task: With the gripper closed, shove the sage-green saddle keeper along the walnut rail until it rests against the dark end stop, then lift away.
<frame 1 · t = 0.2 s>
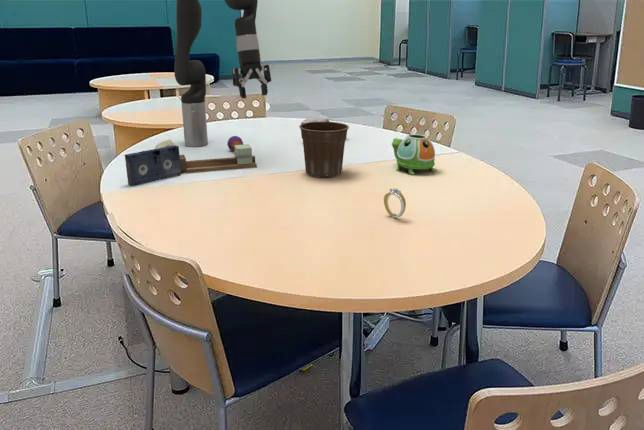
hand: (254, 96, 209), 23 cm above the table, fingers open, 8 cm apart
rail: (218, 168, 207), on the table
plant pot: (324, 173, 201), on the table
keeper: (243, 154, 208), point 4 cm above the table, slide at 0.0 cm
kendama: (238, 156, 226), on the table
cell model: (324, 142, 247), on the table
turtle holder: (411, 170, 205), on the table
fossil replica: (165, 164, 213), on the table
ring: (393, 218, 159), on the table
vhs cassette tape: (155, 180, 194), on the table
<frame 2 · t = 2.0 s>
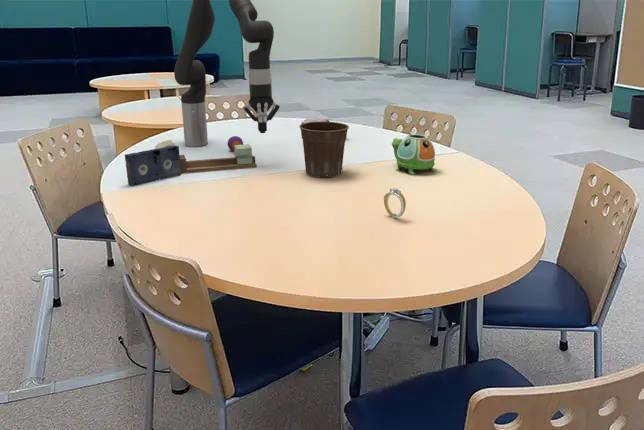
hand: (262, 132, 208), 11 cm above the table, fingers closed
nothing on the table moved.
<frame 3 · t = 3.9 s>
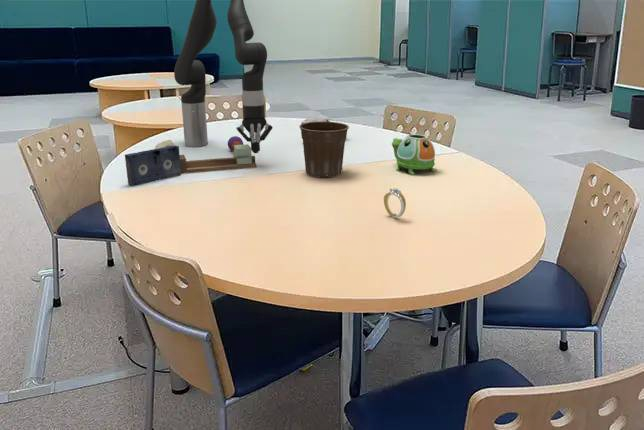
hand: (255, 152, 210), 4 cm above the table, fingers closed
keeper: (242, 154, 208), point 4 cm above the table, slide at 0.2 cm, touching gripper
everything else where it was.
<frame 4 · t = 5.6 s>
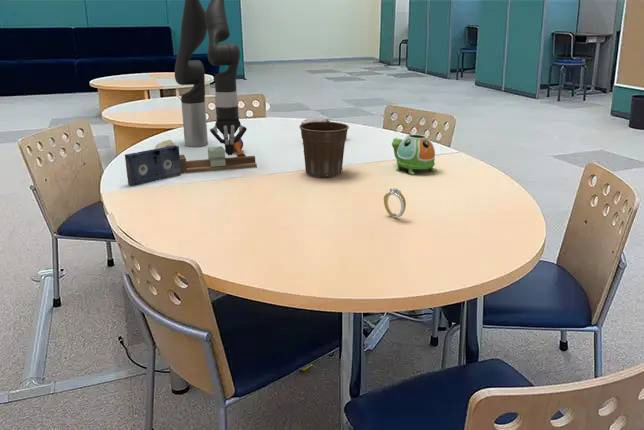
hand: (229, 154, 207), 4 cm above the table, fingers closed
keeper: (216, 156, 206), point 4 cm above the table, slide at 9.3 cm, touching gripper
everything else where it was.
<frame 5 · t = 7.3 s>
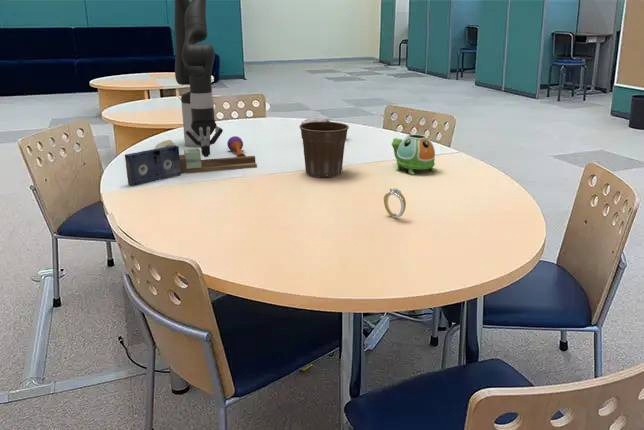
hand: (206, 156, 205), 4 cm above the table, fingers closed
keeper: (192, 158, 203), point 4 cm above the table, slide at 17.5 cm, touching gripper, rail
everything else where it was.
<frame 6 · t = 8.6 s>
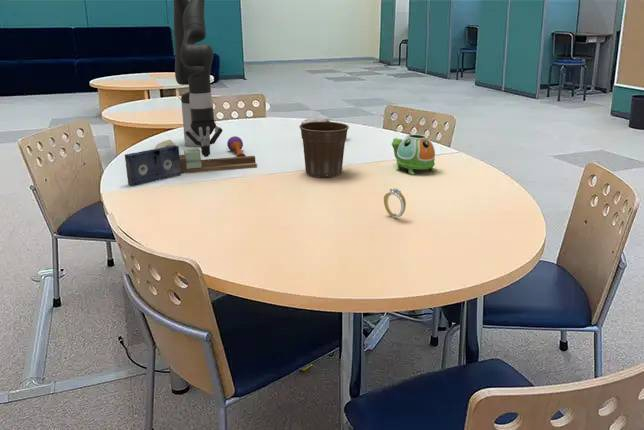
hand: (206, 156, 205), 5 cm above the table, fingers closed
nothing on the table moved.
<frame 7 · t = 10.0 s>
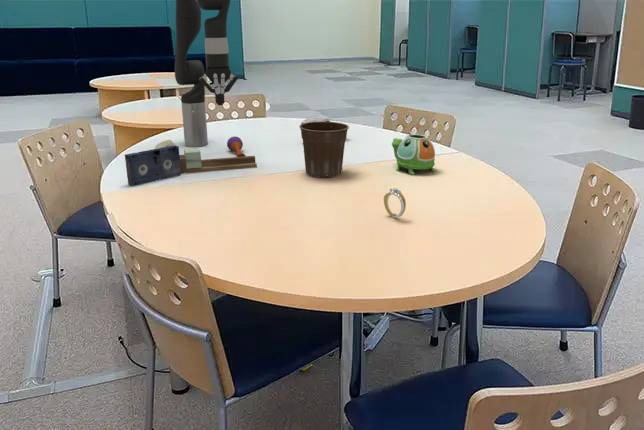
hand: (220, 105, 201), 22 cm above the table, fingers closed
keeper: (192, 158, 203), point 4 cm above the table, slide at 17.5 cm, touching rail
everything else where it was.
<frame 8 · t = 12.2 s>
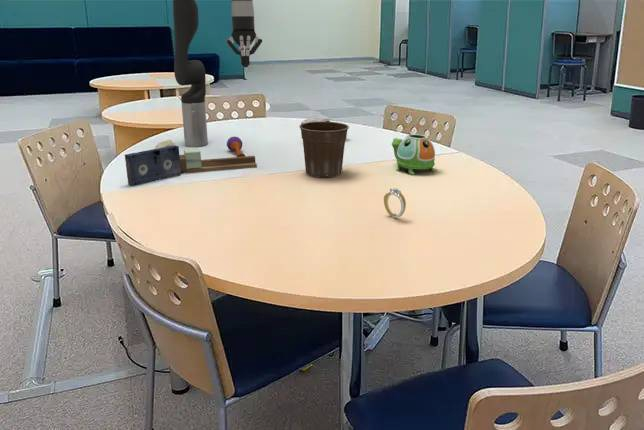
hand: (245, 66, 209), 33 cm above the table, fingers closed
nothing on the table moved.
at the end: keeper slide at 17.5 cm; the gripper is holding nothing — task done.
